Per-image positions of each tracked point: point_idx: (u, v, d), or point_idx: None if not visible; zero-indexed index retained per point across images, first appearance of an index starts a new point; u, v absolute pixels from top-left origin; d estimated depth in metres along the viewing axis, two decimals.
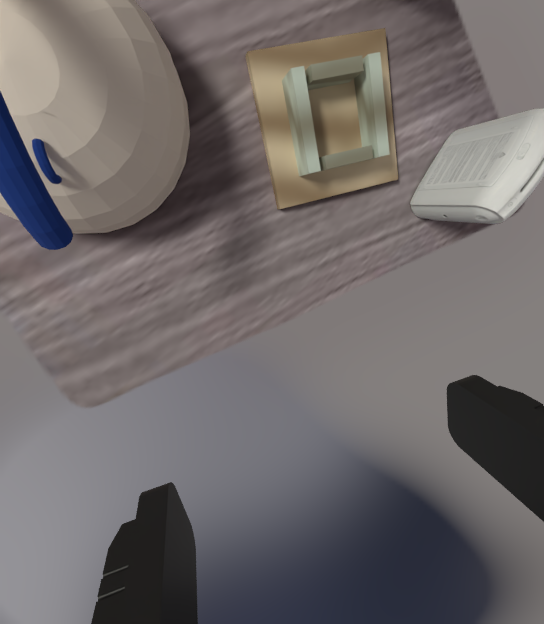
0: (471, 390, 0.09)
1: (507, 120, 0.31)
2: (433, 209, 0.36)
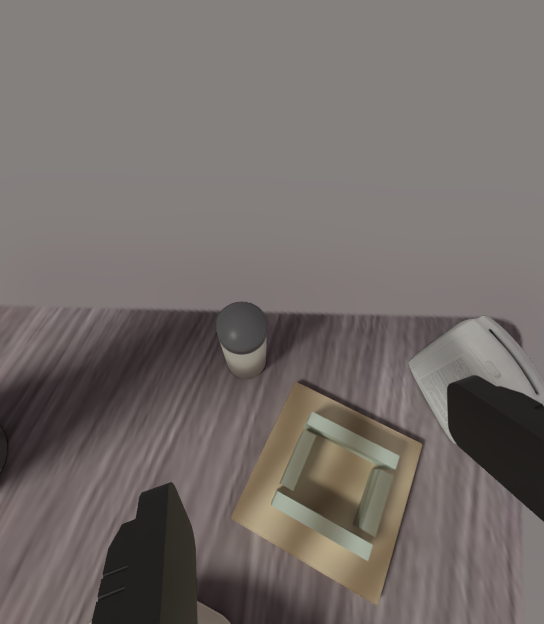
0: (471, 390, 0.09)
1: (442, 346, 0.30)
2: None
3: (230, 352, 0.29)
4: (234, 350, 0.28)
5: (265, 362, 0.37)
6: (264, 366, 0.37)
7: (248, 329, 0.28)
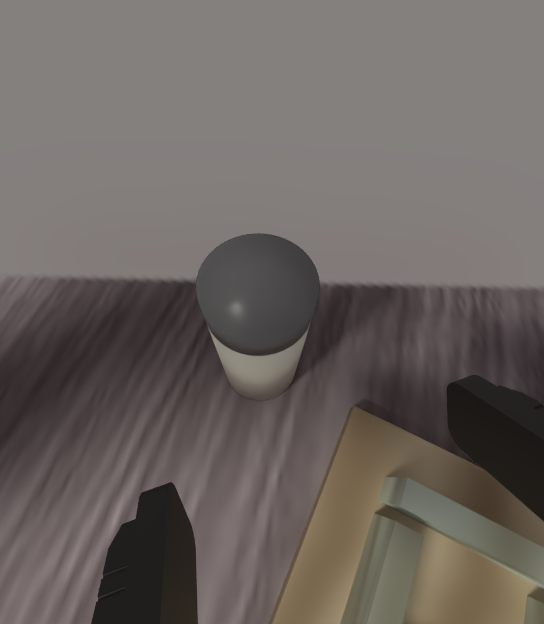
0: (471, 390, 0.09)
1: None
2: None
3: (232, 350, 0.12)
4: (242, 345, 0.12)
5: None
6: (293, 377, 0.20)
7: (276, 294, 0.12)
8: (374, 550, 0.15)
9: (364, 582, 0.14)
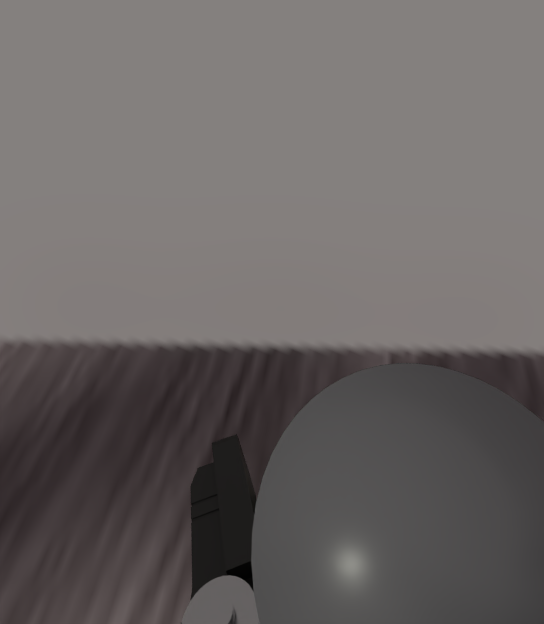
0: None
1: None
2: None
3: None
4: None
5: None
6: None
7: (510, 599, 0.04)
8: None
9: None
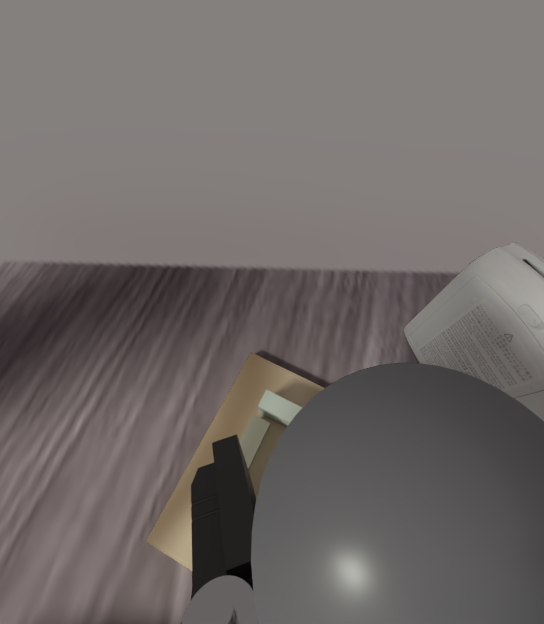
0: None
1: (450, 295, 0.21)
2: None
3: None
4: None
5: None
6: None
7: (510, 599, 0.04)
8: None
9: None
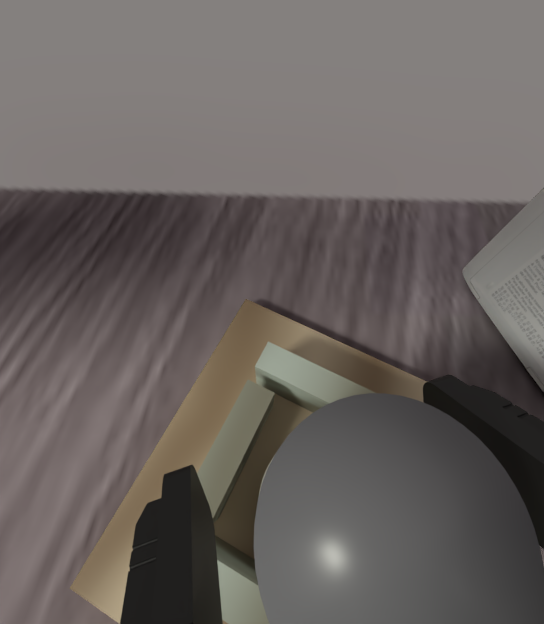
0: (444, 389, 0.09)
1: None
2: None
3: None
4: None
5: None
6: None
7: (445, 576, 0.05)
8: None
9: None
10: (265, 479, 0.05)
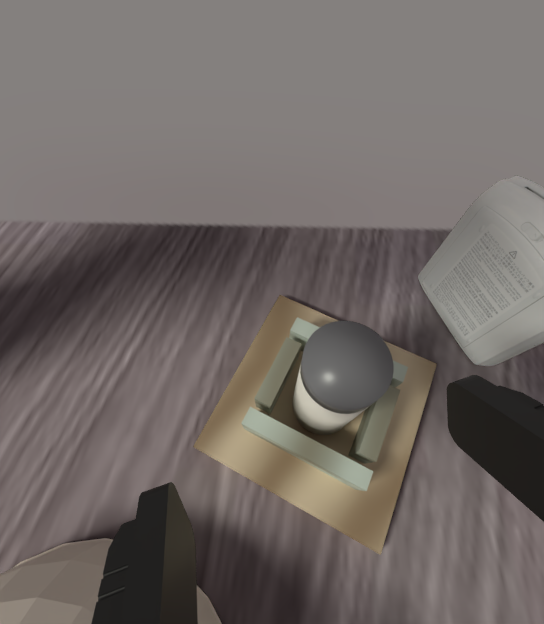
0: (471, 390, 0.09)
1: (461, 230, 0.24)
2: (512, 350, 0.24)
3: (325, 409, 0.17)
4: (337, 408, 0.16)
5: None
6: None
7: (362, 371, 0.16)
8: None
9: None
10: (305, 345, 0.17)
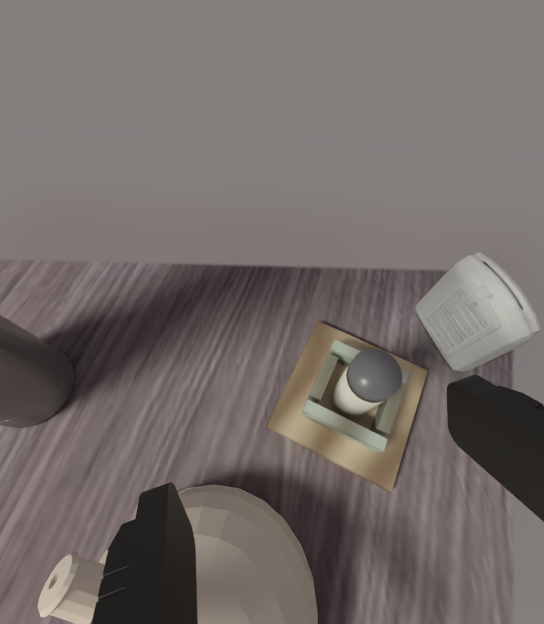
0: (471, 390, 0.09)
1: (444, 282, 0.36)
2: (477, 362, 0.36)
3: (361, 400, 0.29)
4: (369, 399, 0.28)
5: None
6: None
7: (384, 378, 0.28)
8: None
9: None
10: (351, 363, 0.29)
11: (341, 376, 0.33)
